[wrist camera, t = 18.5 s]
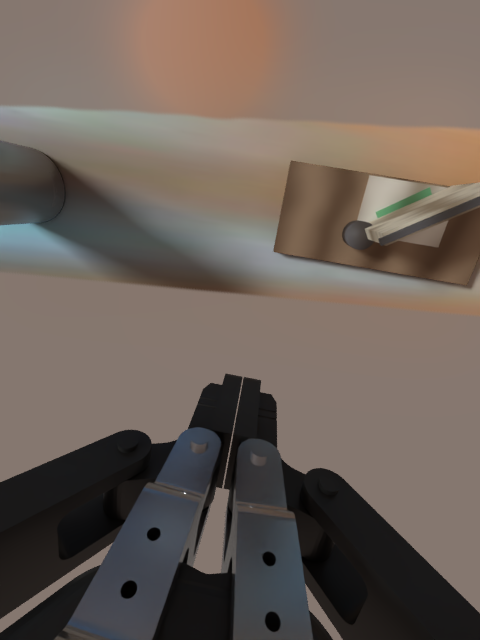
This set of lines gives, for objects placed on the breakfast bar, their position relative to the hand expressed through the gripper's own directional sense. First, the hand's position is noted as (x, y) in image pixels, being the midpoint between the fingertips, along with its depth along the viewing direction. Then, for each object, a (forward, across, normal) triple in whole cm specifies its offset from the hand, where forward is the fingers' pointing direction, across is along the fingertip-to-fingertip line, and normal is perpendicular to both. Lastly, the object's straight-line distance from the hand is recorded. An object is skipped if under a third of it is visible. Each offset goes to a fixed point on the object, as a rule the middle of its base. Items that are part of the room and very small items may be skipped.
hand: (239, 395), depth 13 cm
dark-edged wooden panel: (+28, -14, -9) cm, 33 cm away
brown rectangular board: (+31, -13, -7) cm, 34 cm away
